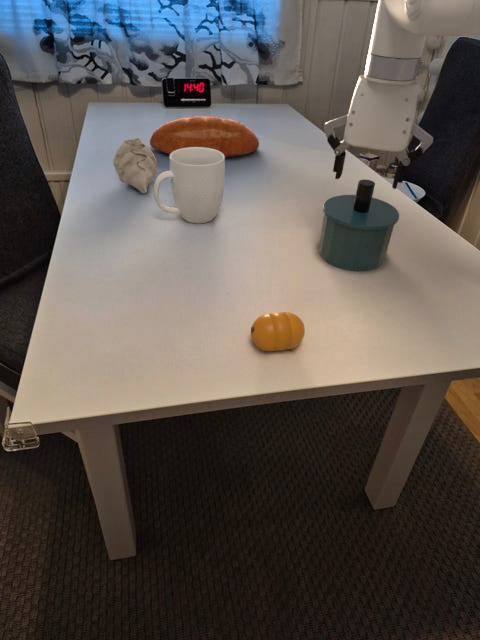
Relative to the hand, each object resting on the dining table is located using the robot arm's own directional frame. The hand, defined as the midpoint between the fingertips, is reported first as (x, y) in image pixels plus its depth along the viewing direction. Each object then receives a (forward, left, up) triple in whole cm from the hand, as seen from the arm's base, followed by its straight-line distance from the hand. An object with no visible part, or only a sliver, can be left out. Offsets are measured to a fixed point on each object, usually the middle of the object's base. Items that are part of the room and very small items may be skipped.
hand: (366, 181), depth 77 cm
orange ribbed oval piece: (+6, +31, -14) cm, 35 cm away
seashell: (+54, -13, -14) cm, 57 cm away
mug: (+34, -2, -14) cm, 37 cm away
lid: (0, 0, -6) cm, 6 cm away
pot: (0, 0, -14) cm, 14 cm away
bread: (+50, -45, -14) cm, 69 cm away
